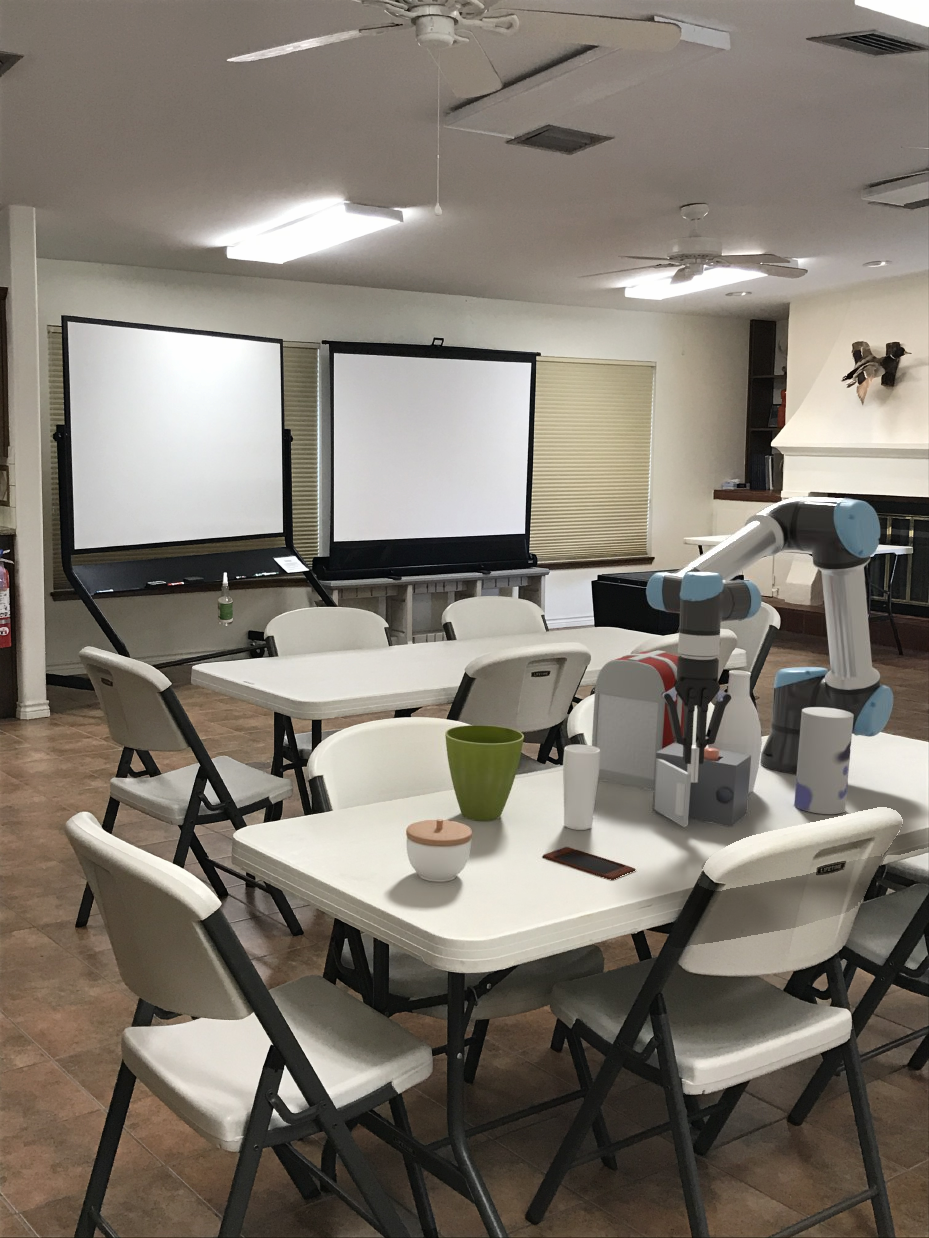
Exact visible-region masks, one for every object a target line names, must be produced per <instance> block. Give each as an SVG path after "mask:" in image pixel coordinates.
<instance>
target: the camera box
mask: <svg viewBox="0 0 929 1238" xmlns="http://www.w3.org/2000/svg"><path fill="white" fill-rule="evenodd" d="M657 758H660V759H663V760H665V761H667V762H669V763H670V764H672V765H674V766H676V767H678V768H680V769H682V770H684V771H686V772H687V766H688V764H685V763H684V762H683V745H681V744H678V743H672V744H670V745H669V746H667V747H665V748H663V749H661V750H660V751H658V752H656V759H657ZM750 765H751V755H747V754H741V753H734V752H728V751H722V750H719V757H718V761H714V760H708V759H704V762H703V764H698V782H691V785H690V799H689V814H688V820H689V819H690V820H694V821H700V822H705V823H708V824H709V823H710V824H715V825H721V826H726V827H731V828H732V827H733V826H735V824H737V823H738V822H739V821H741V820H742V819H743V818H744V817H745V816H746V815H747V814H748V803H749V794H748V791H749V778H750ZM655 771H656V764H655ZM654 787H655V779H654ZM652 796H653V797H652V803H653V802H654V794H653V795H652ZM652 812H653V813H658V814H661V813H660V812H658V811H656V810H655V809H653V808H652Z"/></svg>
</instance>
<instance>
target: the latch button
mask: <svg viewBox="0 0 929 1238" xmlns="http://www.w3.org/2000/svg"><path fill="white" fill-rule="evenodd" d="M718 757H719V750H718V749H715V748H708V747H706V748H704V759H708V760H714V761H718Z"/></svg>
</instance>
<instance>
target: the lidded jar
mask: <svg viewBox="0 0 929 1238" xmlns="http://www.w3.org/2000/svg"><path fill="white" fill-rule="evenodd" d="M405 831H406V833H405V834H406V853H407V857H408V861H409V863H410V865H411V867H412V868H413V869H414V871H415V872H416V873H417V874H418V876H419V878H420V879H422V880H424V881H428V882H432V883H433V882H434V883H445V882H451V881H453V880H455V879H456V878H457V876H458V875H459V874H461V872H462V871H463V870H464V869H465V867H466V866H467V863H468V861H469V858H470V855H471V854H470V853H471V850H472V849H471V847H472V839H473V831H472V828H471V827H469V826H468V825H466V824H464V823H460V822H457V821H452V820H444V819H441V818H436V819H427V820H421V821H417V822H413V823H411V824H410V825H408V826H407V827H406V830H405Z"/></svg>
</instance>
